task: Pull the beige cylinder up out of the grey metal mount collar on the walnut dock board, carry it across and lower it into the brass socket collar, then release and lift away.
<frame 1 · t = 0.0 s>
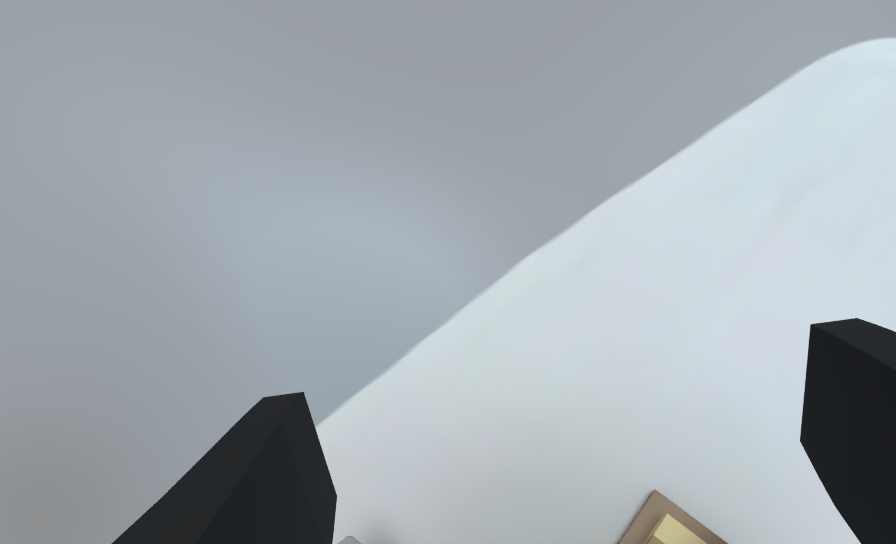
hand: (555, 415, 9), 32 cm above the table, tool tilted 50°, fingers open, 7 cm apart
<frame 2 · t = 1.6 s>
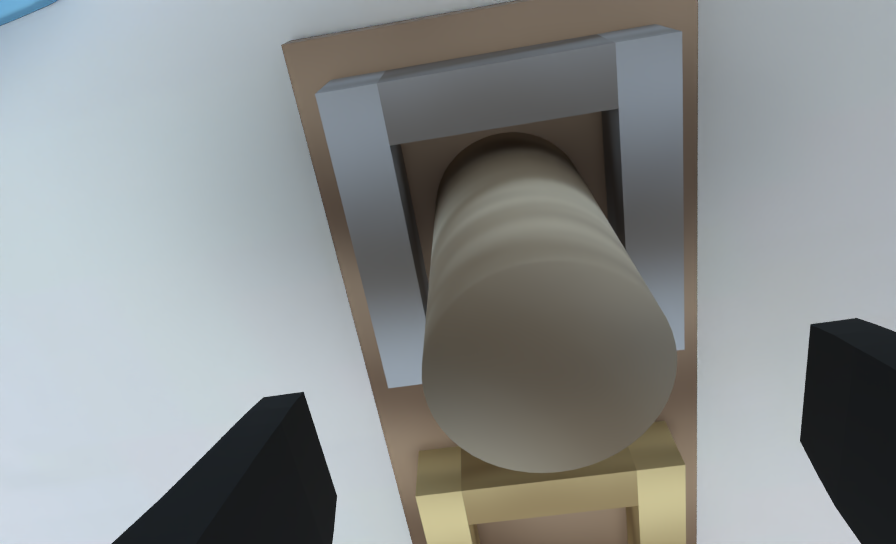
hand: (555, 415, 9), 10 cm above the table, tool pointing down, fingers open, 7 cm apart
dock: (530, 367, 21), on the table
beige cylinder: (509, 205, 17), point 1 cm above the table, touching dock
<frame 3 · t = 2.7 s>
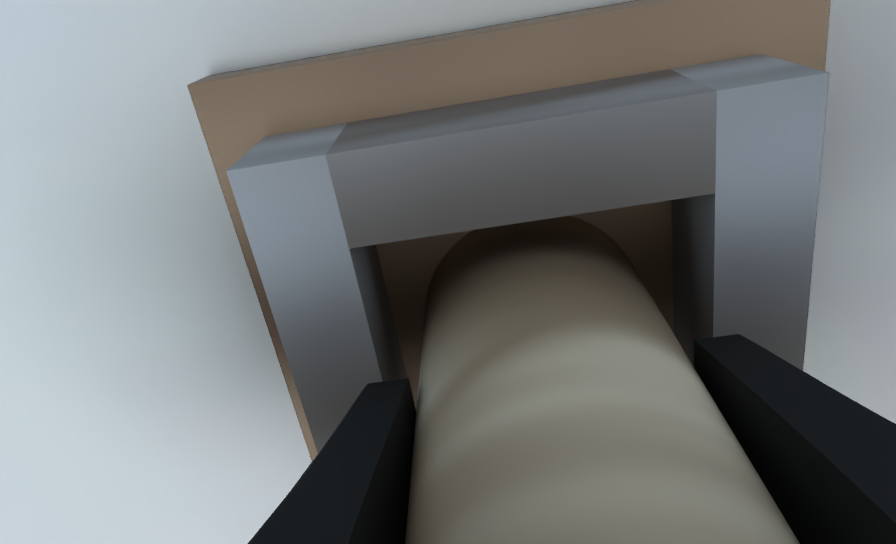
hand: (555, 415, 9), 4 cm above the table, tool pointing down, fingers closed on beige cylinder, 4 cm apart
dock: (554, 506, 15), on the table
beige cylinder: (532, 312, 12), point 1 cm above the table, touching dock, gripper
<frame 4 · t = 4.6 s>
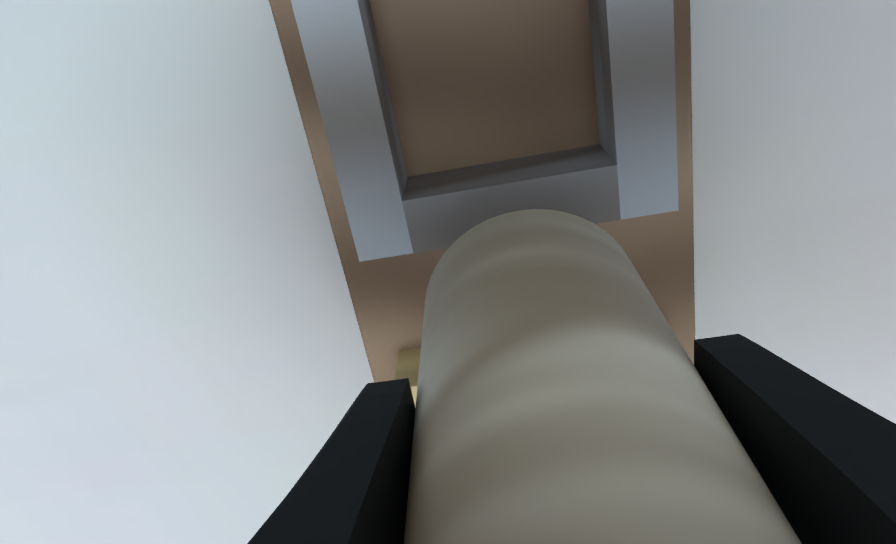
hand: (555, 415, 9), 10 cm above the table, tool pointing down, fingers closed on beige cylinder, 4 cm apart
dock: (515, 259, 19), on the table
beige cylinder: (531, 310, 12), point 7 cm above the table, touching gripper
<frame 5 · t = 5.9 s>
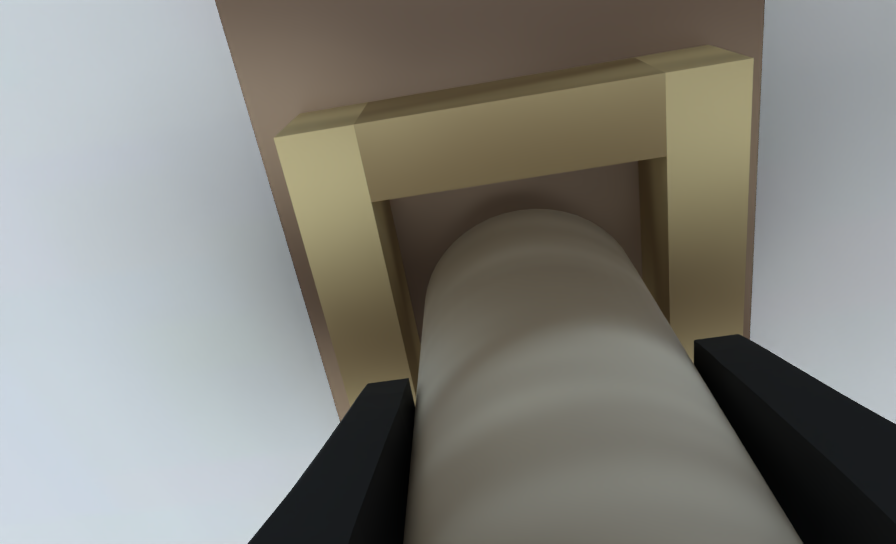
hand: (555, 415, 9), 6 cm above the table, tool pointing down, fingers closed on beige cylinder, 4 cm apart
beige cylinder: (531, 309, 12), point 3 cm above the table, touching gripper
when the fingers open (5 cm above the table, at t = 6.6 s): beige cylinder stays where it is, resting on dock.
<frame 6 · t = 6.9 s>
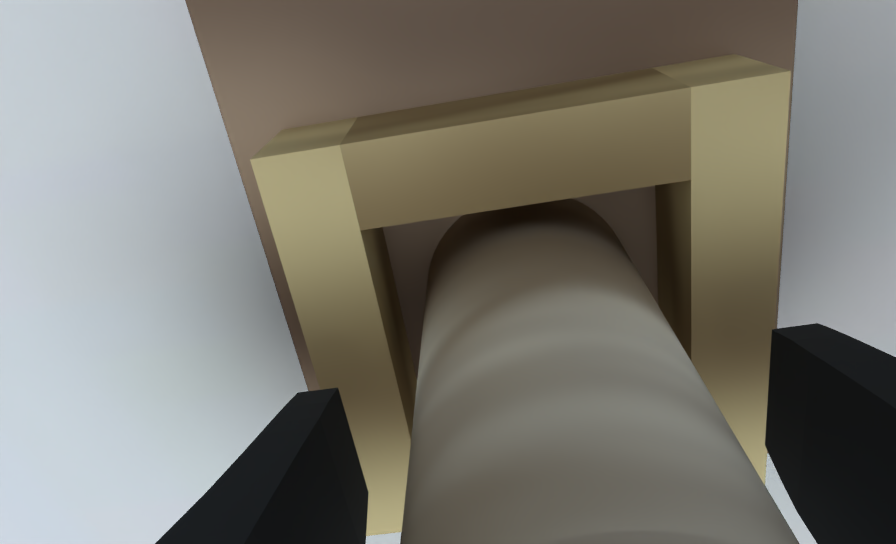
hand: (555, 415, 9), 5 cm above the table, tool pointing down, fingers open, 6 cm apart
beige cylinder: (527, 286, 13), point 1 cm above the table, touching dock
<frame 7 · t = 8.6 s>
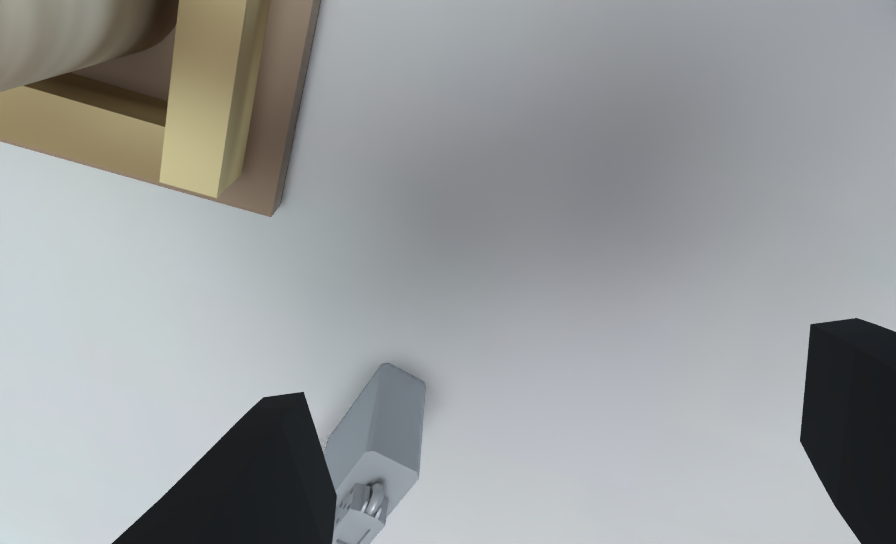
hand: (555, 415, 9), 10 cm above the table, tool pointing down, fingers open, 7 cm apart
lighter: (355, 438, 23), on the table
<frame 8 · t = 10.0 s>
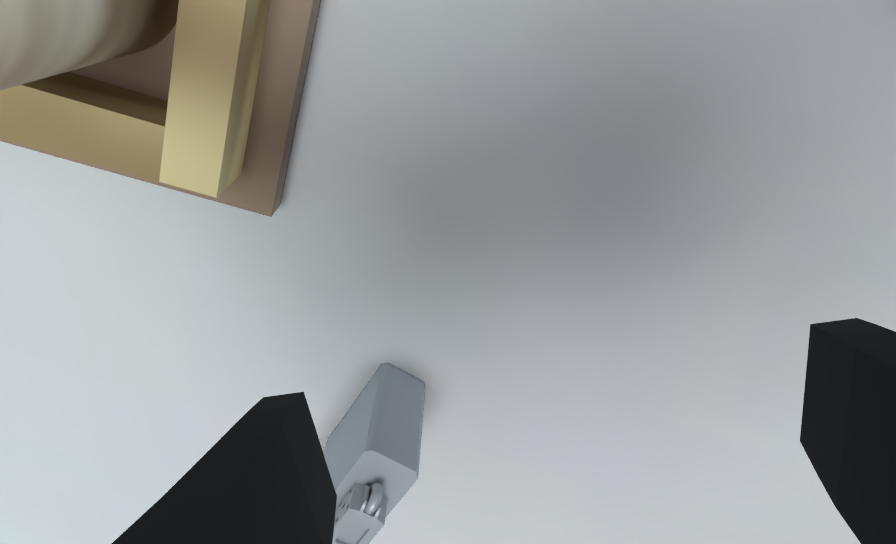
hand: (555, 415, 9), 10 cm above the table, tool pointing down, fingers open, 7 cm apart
lighter: (355, 437, 23), on the table
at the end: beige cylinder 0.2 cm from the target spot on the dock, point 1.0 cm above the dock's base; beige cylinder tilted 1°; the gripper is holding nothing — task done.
